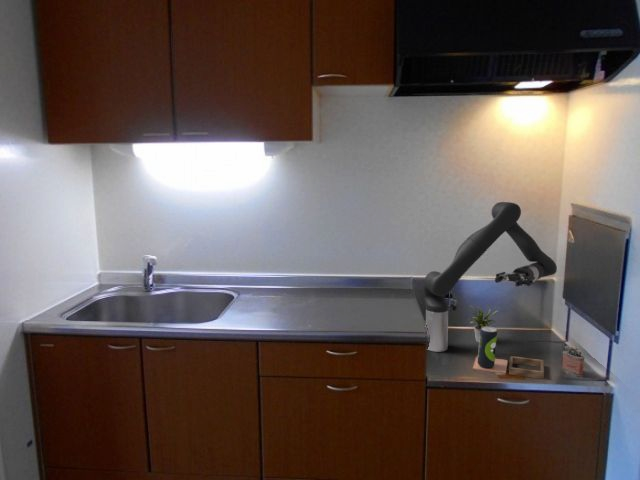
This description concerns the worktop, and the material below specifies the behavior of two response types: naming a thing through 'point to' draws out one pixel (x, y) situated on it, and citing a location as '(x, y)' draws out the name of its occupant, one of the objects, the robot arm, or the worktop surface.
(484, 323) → the house plant
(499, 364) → the trivet
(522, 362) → the wooden tray
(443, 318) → the robot arm
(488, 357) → the beverage can
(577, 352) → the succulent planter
